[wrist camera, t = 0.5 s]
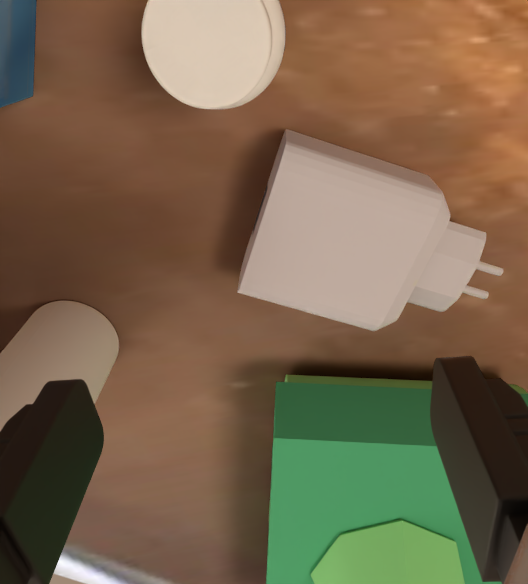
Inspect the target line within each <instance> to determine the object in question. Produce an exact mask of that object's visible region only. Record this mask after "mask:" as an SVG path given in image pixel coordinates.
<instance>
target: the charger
mask: <svg viewBox="0 0 528 584" xmlns="http://www.w3.org/2000/svg"><path fill="white" fill-rule="evenodd" d="M450 216H451V215H450V211H449V209H448V206H447V203H446V200H445V197H444V194H443V192H442V191H441V190H440V188H439V187H438V186H437V185H436V184H435V183H434V181H433V180H432V179H431V178H430V177H429V175H426V174H423V173H420V172H417V171H414V170H410V169H407V168H404V167H401V166H398V165H395V164H392V163H389V162H386V161H383V160H380V159H377V158H374V157H371V156H368V155H365V154H361V153H358V152H355V151H352V150H349V149H346V148H343V147H340V146H337V145H334V144H331V143H328V142H325V141H322V140H319V139H316V138H313V137H309V136H306V135H303V134H300V133H297V132H294V131H291V130H288V129H285V132H284V134H283V137H282V140H281V143H280V146H279V149H278V152H277V155H276V158H275V162H274V165H273V168H272V171H271V174H270V177H269V180H268V183H267V187H266V190H265V193H264V196H263V199H262V202H261V205H260V208H259V212H258V215H257V218H256V221H255V224H254V227H253V230H252V233H251V237H250V240H249V243H248V246H247V249H246V253H245V256H244V260H243V263H242V267H241V273H240V279H239V285H238V291H237V293H241V294H244V295H248V296H252V297H255V298H259V299H262V300H266V301H269V302H273V303H276V304H280V305H283V306H287V307H290V308H294V309H297V310H301V311H304V312H308V313H312V314H315V315H319V316H322V317H326V318H329V319H333V320H336V321H340V322H343V323H347V324H350V325H354V326H357V327H361V328H364V329H368V330H372V331H376V330H378V329H380V328H382V327H385V326H387V325H389V324H391V323H393V322H395V321H396V320H397V319H398V318H399V316H400V314H401V312H402V310H403V309H404V307H405V305H406V303H407V302H409V303H412V304H415V305H419V306H422V307H426V308H429V309H432V310H436V311H439V312H442V311H445V310H447V309H448V308H449V307H450V306H451V305H452V304H453V303H454V302H456V301H457V300H458V299H459V297H460V295H461V294H462V293H465V294H468V295H472V296H475V297H479V298H482V299H486V298H487V297H488V295H489V294H488V292H487V291H484V290H481V289H477V288H474V287H471V286H467V283H468V282H469V280H470V278H471V277H472V275H473V273H474V272H475V270H476V269H477V270H480V271H484V272H487V273H490V274H493V275H497V276H500V275H502V273H503V269H502V268H500V267H497V266H494V265H490V264H487V263H484V262H481V261H480V258H481V254H482V251H483V248H484V245H485V242H486V232H482V231H479V230H476V229H473V228H470V227H467V226H463V225H460V224H457V223H454V222H451V221H449V220H450Z"/></svg>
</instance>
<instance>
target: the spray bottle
mask: <svg viewBox="0 0 528 584" xmlns="http://www.w3.org/2000/svg"><path fill="white" fill-rule="evenodd" d="M118 352H119V340H118V336H117V333H116V331H115V329H114V327H113V325H112V324H111V323H110V321H109V320H108V319H107V318H106V317H105V316H104V315H103V314H101V313H100V312H99V311H97V310H96V309H94V308H92V307H90V306H88V305H85V304H82V303H79V302H75V301H55V302H51V303H48V304H45V305H43V306H42V307H40V308H39V309H37V310H36V311H35V312H34V313H33V314H32V316H31V317H30V318H29V319H28V320H27V322H26V323H25V324H24V325H23V327H22V328H21V329H20V330H19V331H18V333H17V334H16V335H15V336H14V338H13V339H12V340H11V341H10V342H9V344H8V345H7V346H6V347H5V348H4V350H3V351H2V352H1V353H0V431H1V430H2V428H3V427H4V425H5V424H6V422H7V421H8V420H9V419H10V418H11V417H12V416H14V415H15V414H16V413H17V412H18V411H19V410H20V409H22V408H23V407H24V406H25V405H26V404H33V403H34V401H35V400H36V398H37V396H38V395H39V393H40V391H41V390H42V388H43V387H44V385H45V384H46V383H47V382H49V381H56V380H72V379H82V380H84V381H85V383H86V384H87V386H88V389H89V392H90V394H91V397H92V400H93V402H94V404H95V402H96V400H97V398H98V396H99V394H100V392H101V390H102V388H103V386H104V384H105V381H106V379H107V377H108V375H109V373H110V371H111V369H112V367H113V365H114V363H115V361H116V358H117V356H118Z"/></svg>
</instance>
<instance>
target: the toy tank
mask: <svg viewBox="0 0 528 584" xmlns="http://www.w3.org/2000/svg"><path fill="white" fill-rule="evenodd" d="M508 385H509V386H511V387H512V388H513V389H514V390H515V391H517V392H518V393H519V394H520V395H521V396H522V398H523V400H524V401H525V403H526V405H527V406H528V393H527V392H526V391H525V390H524V389H523V388H521V387H519V386H517V385H511V384H508ZM431 393H432V381H420V380H397V379H374V378H351V377H328V376H305V375H286V376H285V382H276V392H275V412H274V432H273V446H272V469H271V493H270V506H269V533H268V554H267V574H266V584H502V582H482V579H481V576H480V573H479V570H478V567H477V564H476V561H475V558H474V555H473V552H472V549H471V546H470V543H469V540H468V537H467V534H466V531H465V528H464V525H463V523H462V520H461V517H460V514H459V511H458V508H457V505H456V502H455V499H454V496H453V493H452V490H451V487H450V484H449V481H448V478H447V475H446V472H445V469H444V466H443V463H442V460H441V457H440V454H439V451H438V449H437V446H436V443H435V440H434V436H433V432H432V427H431V420H430V404H431Z"/></svg>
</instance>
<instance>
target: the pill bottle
mask: <svg viewBox="0 0 528 584" xmlns="http://www.w3.org/2000/svg"><path fill="white" fill-rule="evenodd" d="M141 36H142V45H143V50H144V54H145V58H146V60H147V63H148V65H149V68H150V70H151V72H152V73H153V75H154V77H155V78H156V80H157V81H158V82H159V83H160V85H161V86H162V87H163V88H164V89H165V90H166V91H167V92H168V93H169V94H170V95H172V96H173V97H174V98H176V99H178V100H179V101H181V102H183V103H185V104H187V105H190V106H193V107H196V108H202V109H230V108H234V107H238V106H241V105H243V104H245V103H248V102H249V101H251V100H253V99H254V98H256V97H257V96H258V95H259V94H261V93H262V92H263V91H264V90H265V89H266V88H267V86H268V85H269V84H270V83H271V81H272V80H273V78H274V76H275V75H276V73H277V71H278V69H279V67H280V64H281V61H282V58H283V54H284V50H285V39H286V27H285V20H284V15H283V11H282V7H281V4H280V2H279V0H148V2H147V5H146V8H145V11H144V15H143V20H142V32H141Z"/></svg>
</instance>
